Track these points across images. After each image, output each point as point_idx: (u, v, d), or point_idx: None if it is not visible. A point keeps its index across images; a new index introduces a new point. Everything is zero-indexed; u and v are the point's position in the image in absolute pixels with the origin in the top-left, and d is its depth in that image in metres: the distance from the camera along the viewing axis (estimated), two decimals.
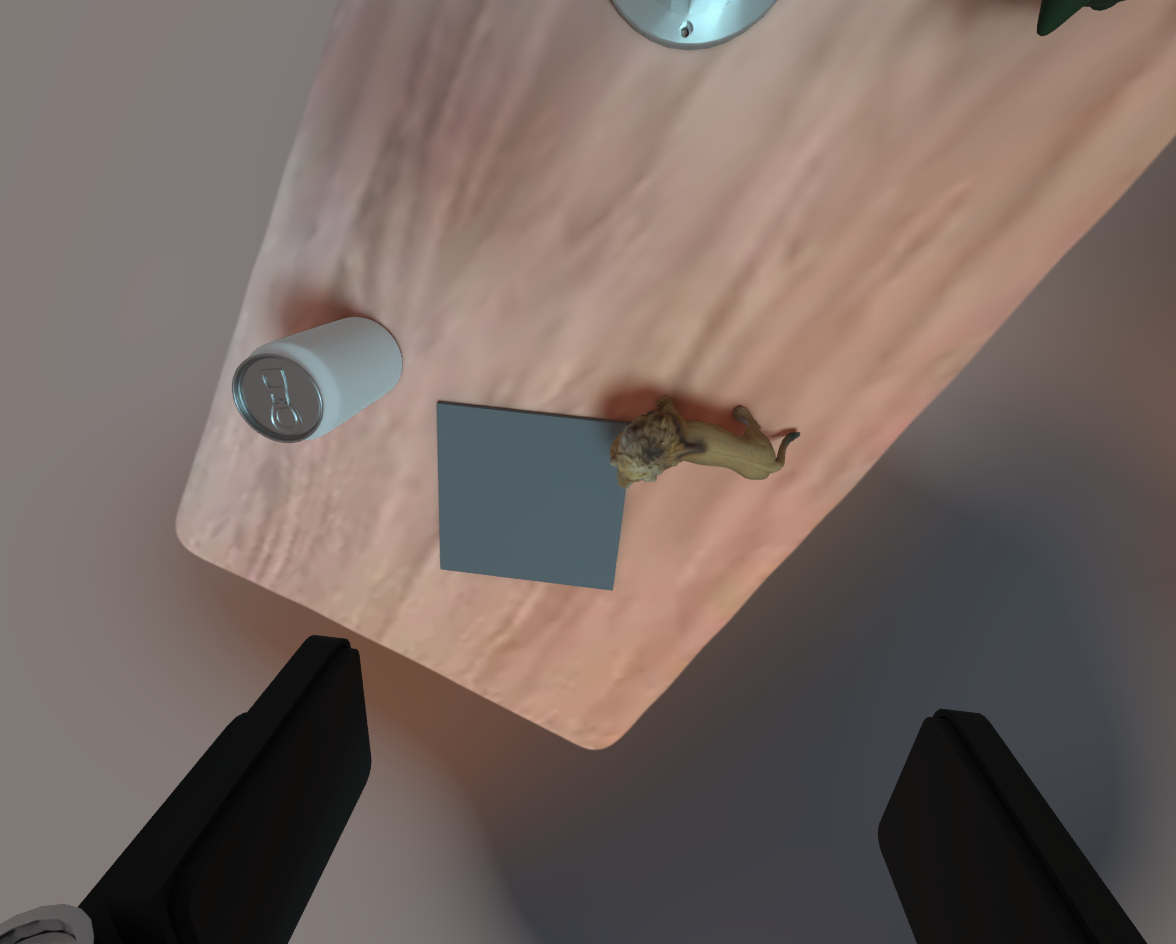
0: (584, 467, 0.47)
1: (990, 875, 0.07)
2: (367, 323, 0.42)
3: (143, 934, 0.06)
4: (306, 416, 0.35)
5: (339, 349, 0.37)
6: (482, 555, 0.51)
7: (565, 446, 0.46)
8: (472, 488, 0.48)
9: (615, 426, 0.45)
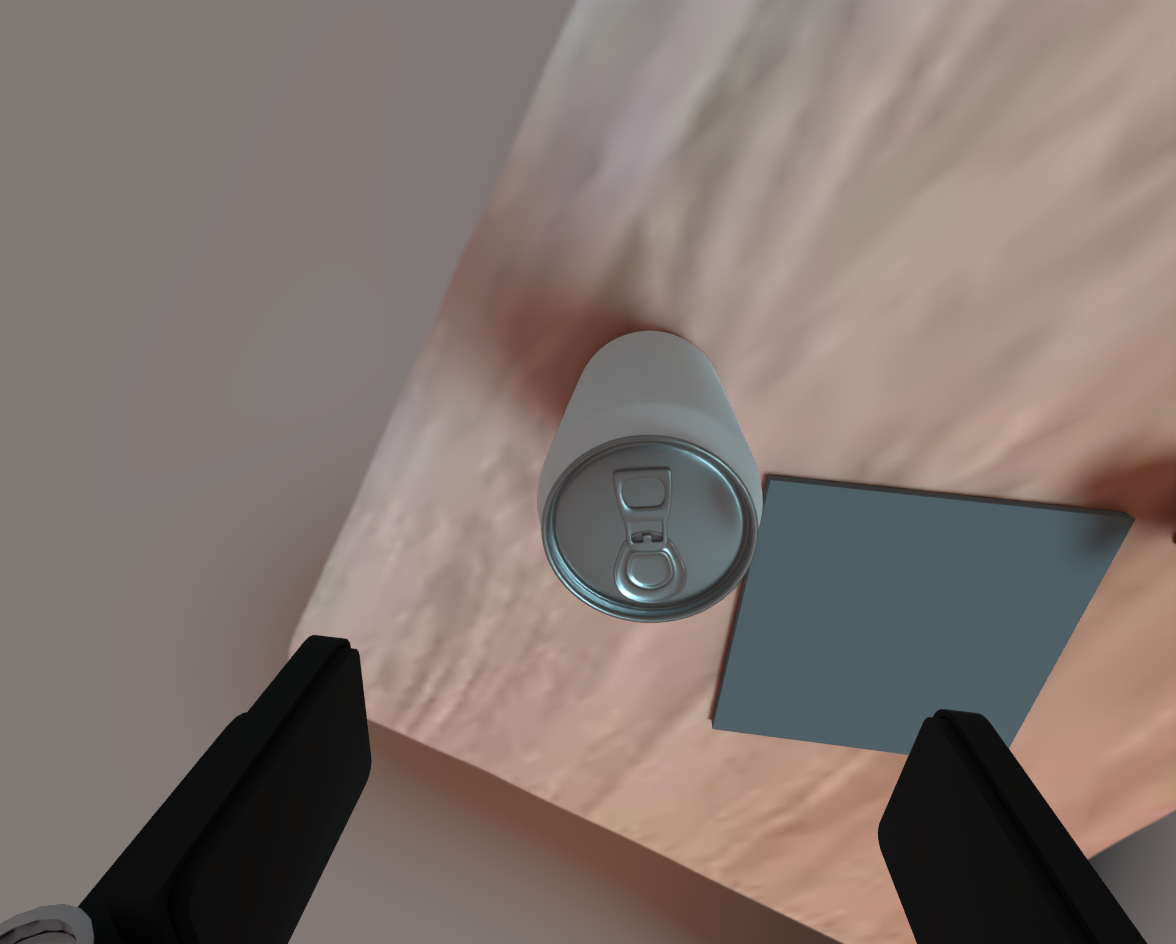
0: (1014, 585, 0.27)
1: (990, 875, 0.07)
2: (684, 343, 0.23)
3: (143, 934, 0.06)
4: (701, 569, 0.15)
5: (725, 407, 0.17)
6: (789, 711, 0.31)
7: (990, 551, 0.26)
8: (798, 614, 0.29)
9: (1099, 519, 0.25)
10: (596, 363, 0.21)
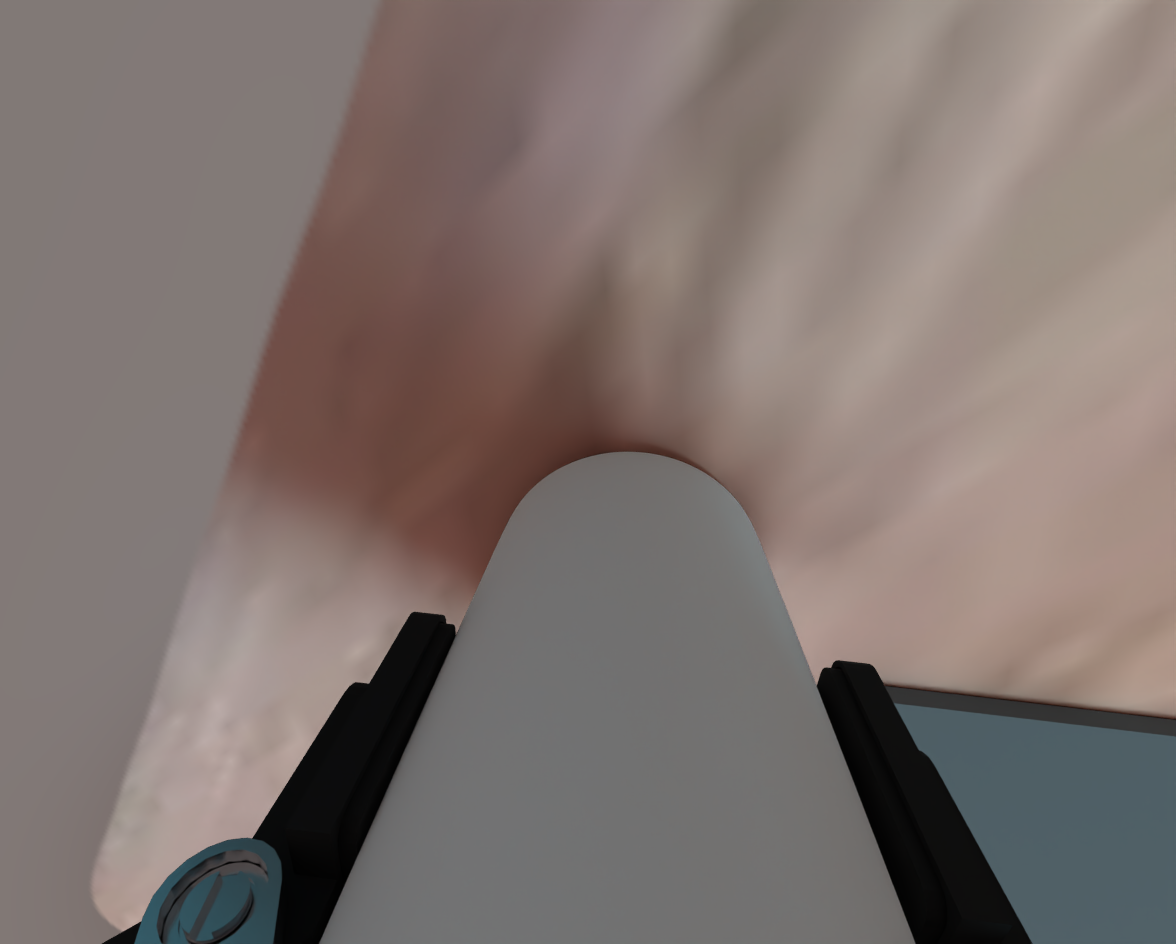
0: None
1: None
2: (697, 487, 0.12)
3: (315, 866, 0.06)
4: None
5: (836, 795, 0.06)
6: None
7: None
8: None
9: None
10: (515, 548, 0.10)
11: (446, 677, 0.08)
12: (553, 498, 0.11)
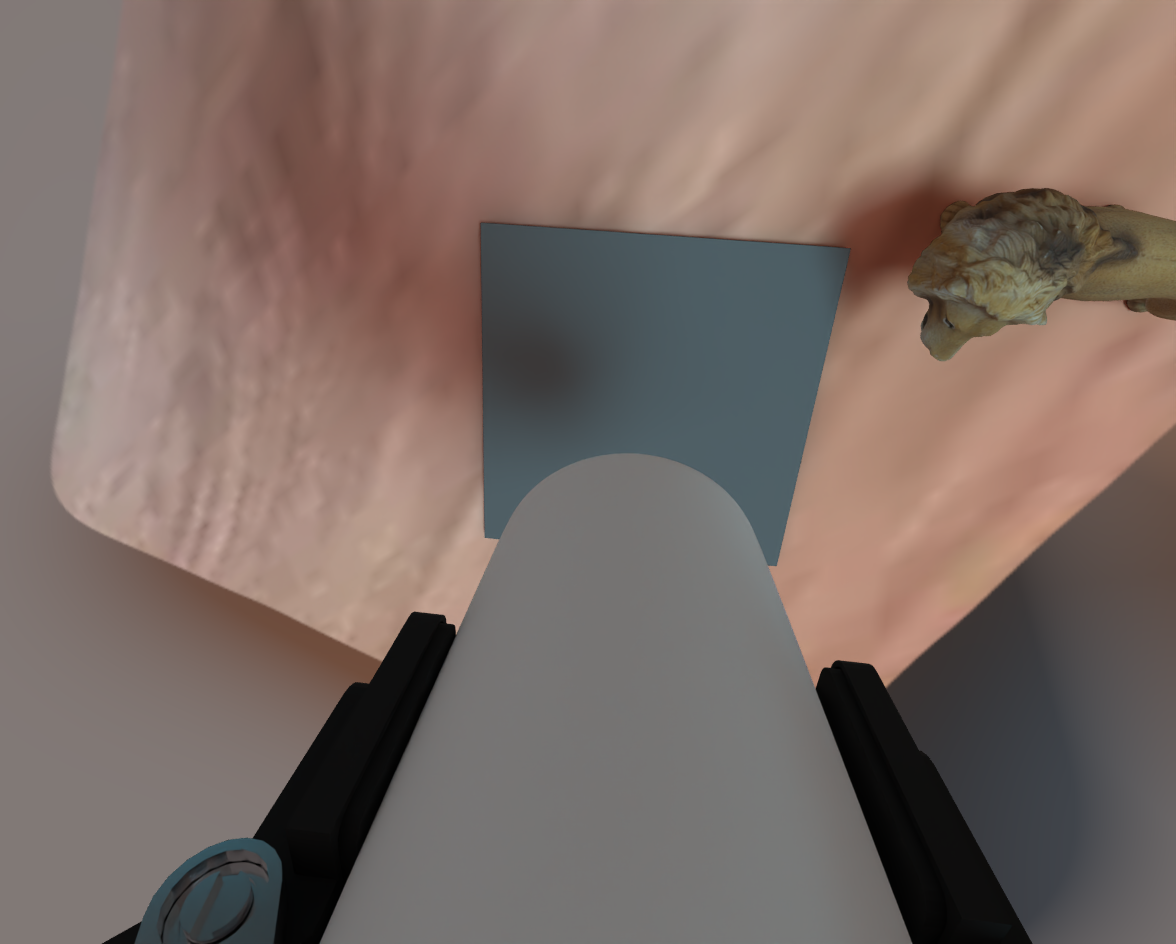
0: (747, 338, 0.26)
1: (858, 799, 0.08)
2: (696, 488, 0.12)
3: (316, 865, 0.06)
4: None
5: (834, 796, 0.06)
6: None
7: (715, 298, 0.25)
8: (541, 389, 0.28)
9: (815, 251, 0.24)
10: (515, 550, 0.10)
11: (445, 679, 0.08)
12: (552, 500, 0.11)
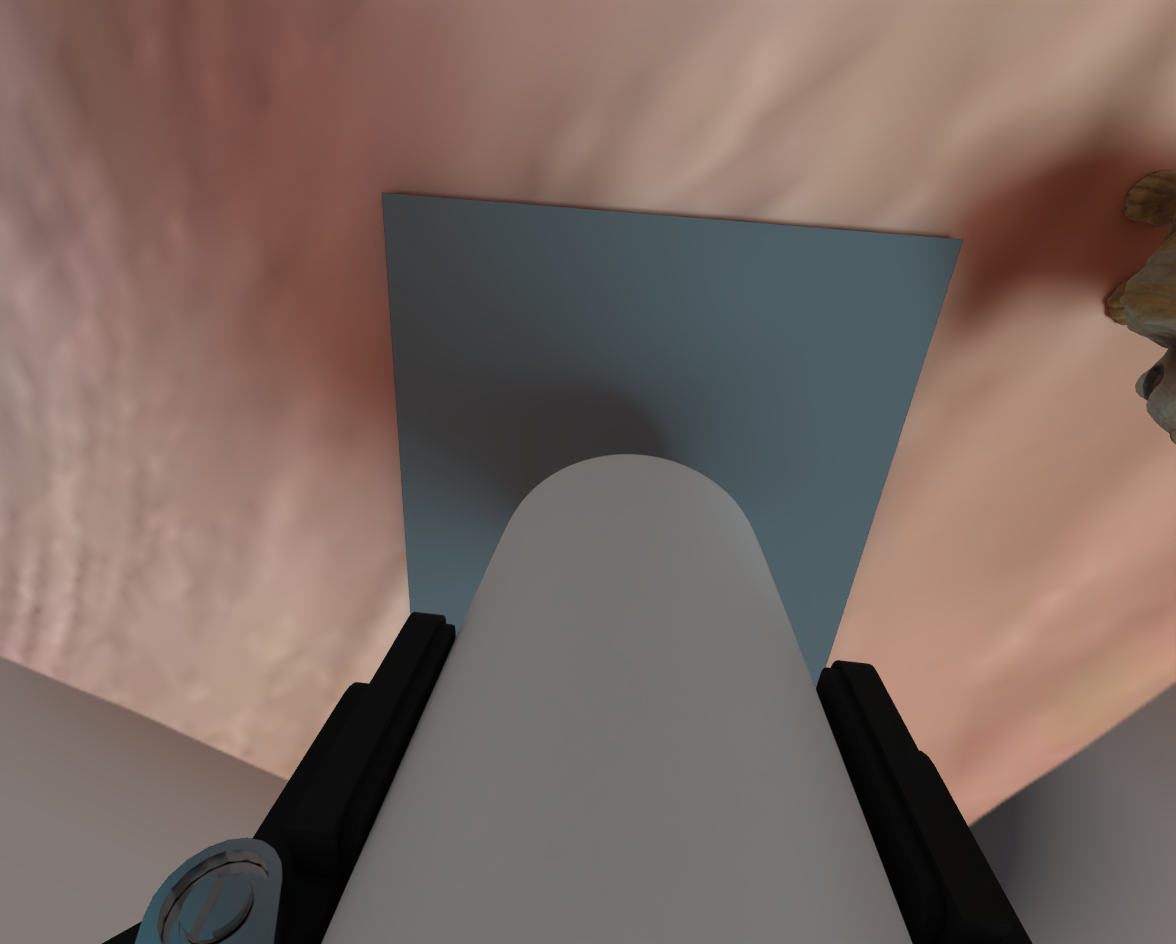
0: (791, 376, 0.17)
1: (858, 799, 0.08)
2: (696, 489, 0.12)
3: (316, 865, 0.06)
4: None
5: (834, 798, 0.06)
6: None
7: (746, 315, 0.16)
8: (484, 443, 0.19)
9: (906, 244, 0.15)
10: (515, 551, 0.10)
11: (446, 681, 0.08)
12: (553, 501, 0.11)
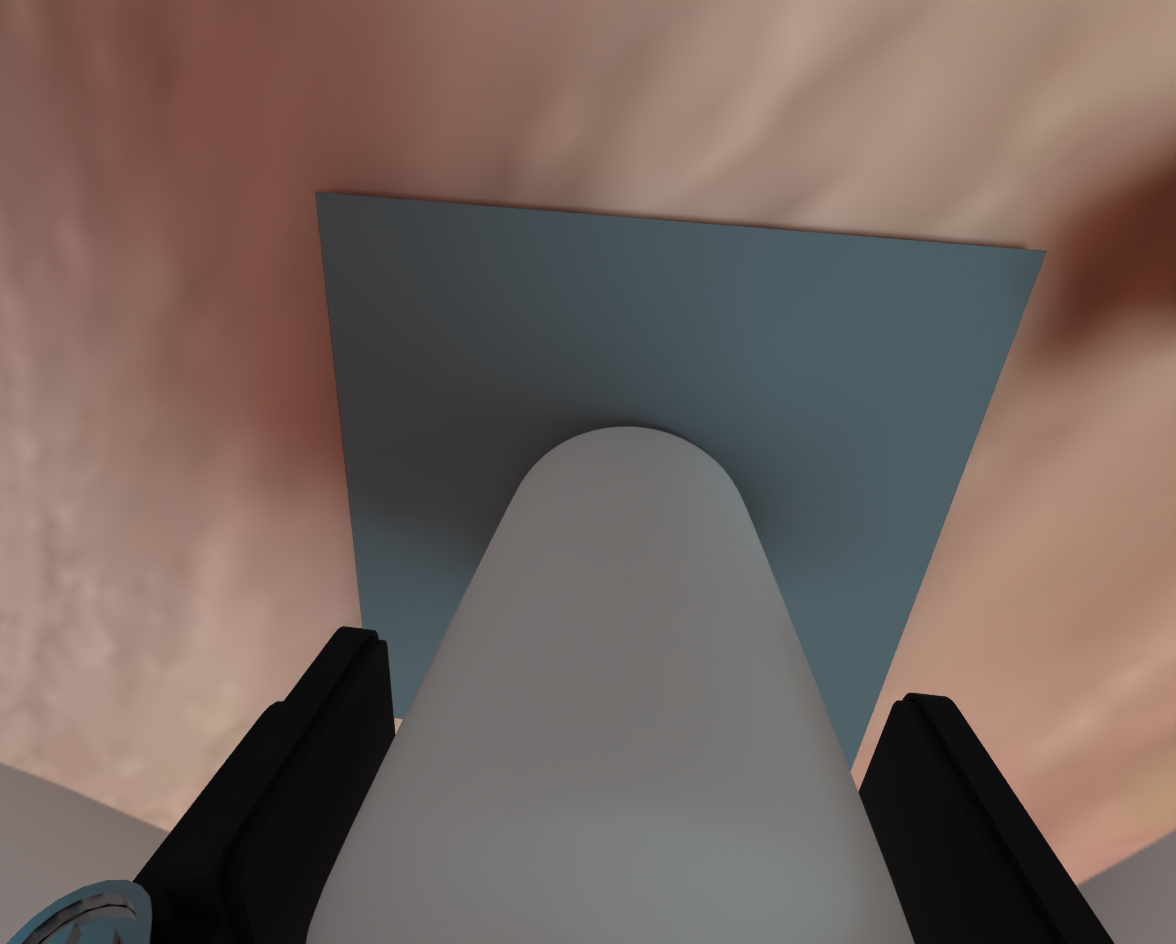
0: (825, 418, 0.14)
1: (950, 849, 0.07)
2: (685, 454, 0.13)
3: (196, 908, 0.06)
4: None
5: (794, 679, 0.07)
6: None
7: (769, 344, 0.13)
8: (450, 494, 0.15)
9: (973, 257, 0.12)
10: (521, 507, 0.11)
11: (462, 607, 0.09)
12: (555, 466, 0.12)
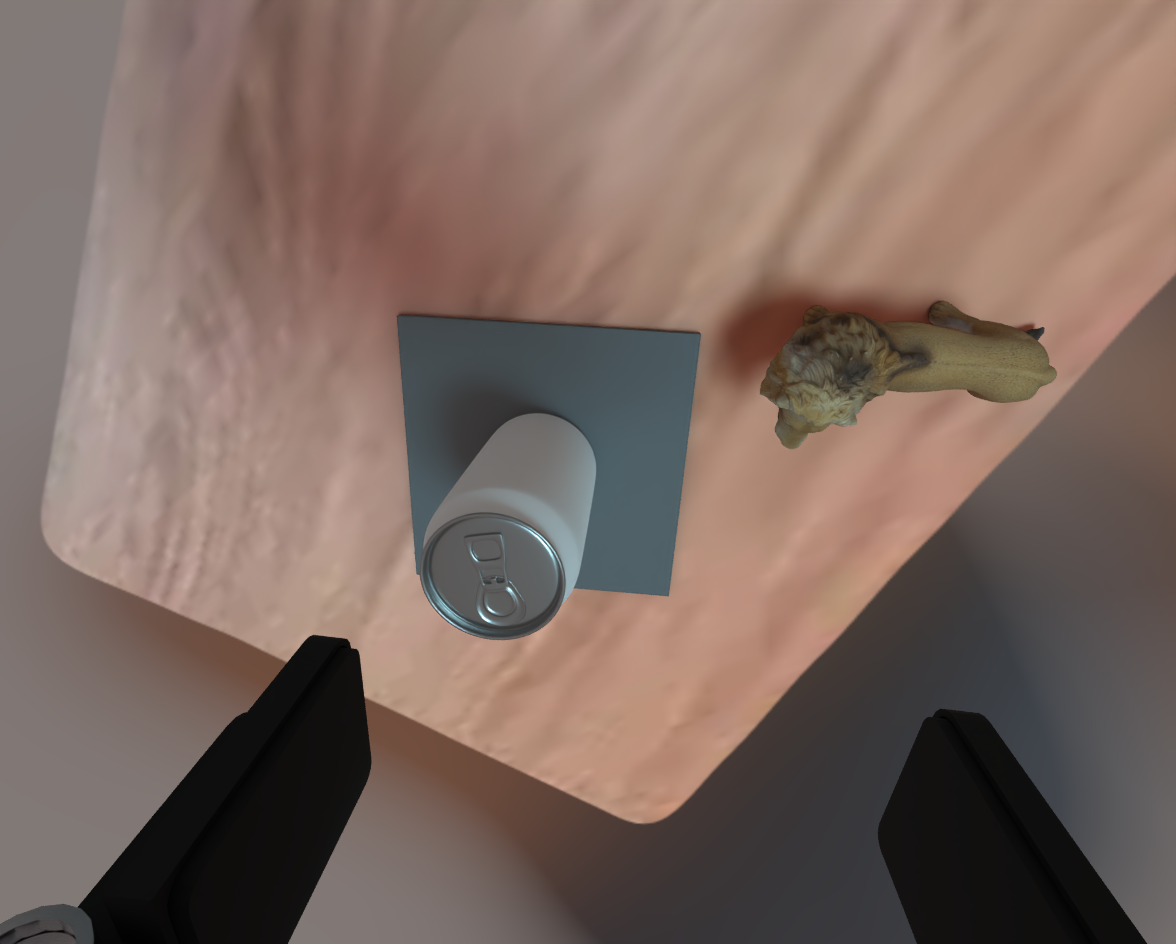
0: (624, 406, 0.31)
1: (990, 875, 0.07)
2: (557, 423, 0.30)
3: (143, 934, 0.06)
4: (534, 600, 0.22)
5: (560, 481, 0.24)
6: None
7: (595, 374, 0.30)
8: (456, 449, 0.32)
9: (672, 337, 0.29)
10: (485, 445, 0.28)
11: None
12: (500, 430, 0.29)
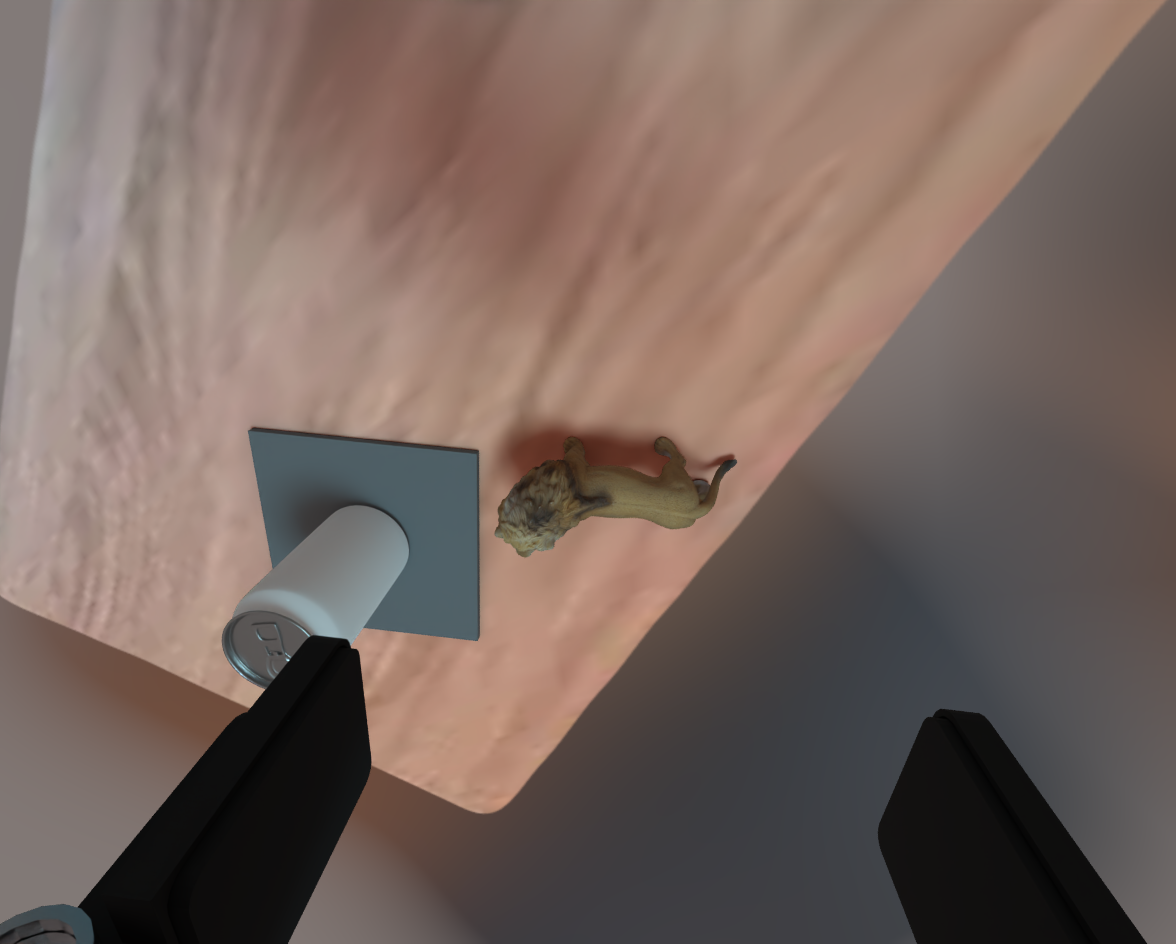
0: (426, 502, 0.40)
1: (990, 875, 0.07)
2: (369, 516, 0.39)
3: (143, 934, 0.06)
4: None
5: (339, 576, 0.33)
6: None
7: (401, 478, 0.39)
8: (303, 527, 0.42)
9: (455, 455, 0.38)
10: None
11: None
12: (325, 521, 0.39)
